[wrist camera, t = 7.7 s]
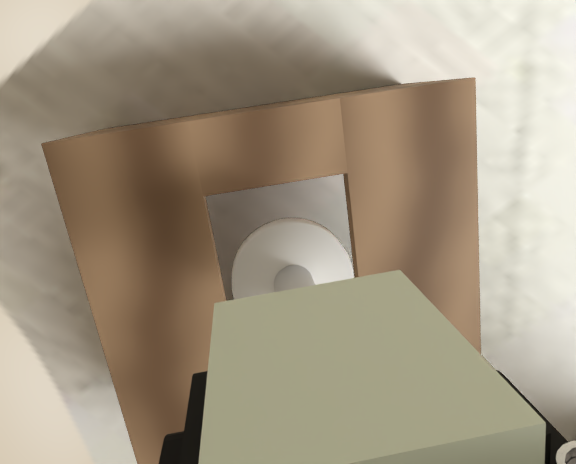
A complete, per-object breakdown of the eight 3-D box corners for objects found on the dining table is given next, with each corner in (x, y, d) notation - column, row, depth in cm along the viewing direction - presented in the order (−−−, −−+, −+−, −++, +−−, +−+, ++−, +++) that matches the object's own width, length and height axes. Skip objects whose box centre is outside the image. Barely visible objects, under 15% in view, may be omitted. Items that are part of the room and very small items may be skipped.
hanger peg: (341, 208, 19) (546, 422, 6) (353, 315, 20) (538, 657, 8) (221, 228, 19) (194, 494, 6) (242, 336, 20) (255, 724, 8)
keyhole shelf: (401, 84, 31) (475, 77, 21) (420, 363, 37) (482, 453, 28) (104, 128, 30) (41, 143, 20) (176, 409, 36) (154, 521, 27)
